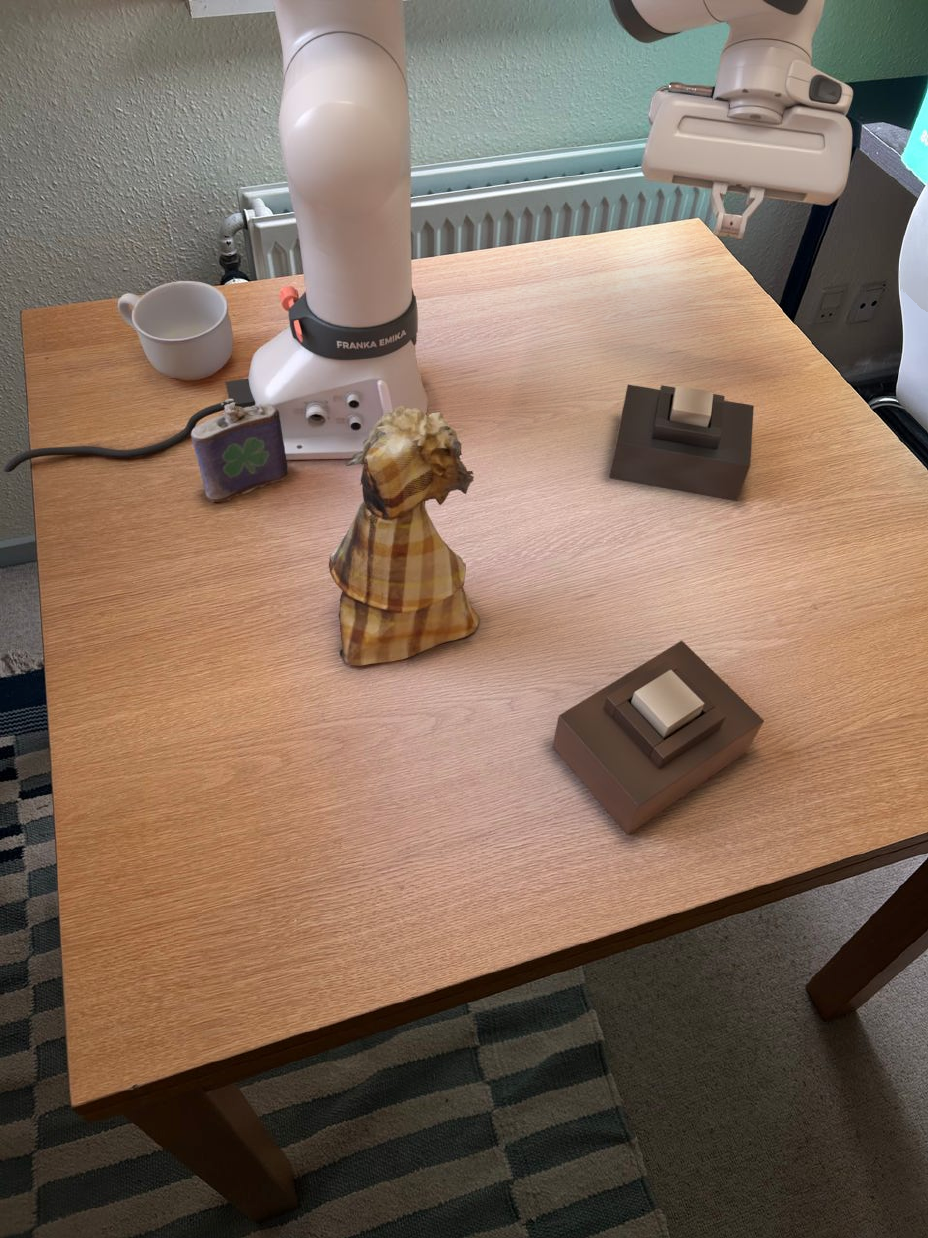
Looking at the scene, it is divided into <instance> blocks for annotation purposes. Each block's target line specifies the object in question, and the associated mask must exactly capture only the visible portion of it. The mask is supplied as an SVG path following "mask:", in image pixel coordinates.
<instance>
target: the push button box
mask: <svg viewBox="0 0 928 1238" xmlns="http://www.w3.org/2000/svg"><path fill="white" fill-rule="evenodd" d="M669 670H672V671H673V672H674V673H675V674H676V675H677V676H678V677H679V678H680V679H681V680H682V681H683V682H684V683H685V684H686V685H687V686H688V687H689V688H690V689H691V690H692V691H693V692H694V693H695V694H696V695H697V696H698V697H699V698H700V699H701V700H702V701H703V702H704V706H703V708H702V711H701V713H700V715H699V716H697V717H696V718H694V719H693V720H691V721H690V722H688V723H687V724H685V725H684V726H682V727H681V728H679V729H677V730H676V731H674V732H673V733H671V734H670V735H668V736H667V737H665V738H663V737H662V736H661V735H660V734H659V733H658V732H657V731H656V730H655V729H654V728H653V727H652V726H651V725H650V724H649V722H648V721H647V720H646V719H645V718H644V717H643V716H642V715H641V714H640V713H639V712H638V711H637V710H636V709H635V708H634V706H633V705H632V704H631V701H632V698H633V695H634V692H635V691H637V690H639V689H640V688H642V687H643V686H645V685H647V684H648V683H650V682H652V681H653V680H655V679H656V678H658V677H660V676H661V675H663V674H664V673H666V672H668V671H669ZM764 722H765V720H764V719H763V718H762V717H761V716H760V715H759V714H758V713H757V712H756V711H755V710H754V709H753V708H752V707H751V706H750V705H749V704H748V703H747V702H746V701H745V700H744V699H743V698H742V697H741V696H740V695H739V694H737V692H736V691H734V689H732V688H731V686H730V685H728V683H726V682H725V681H724V679H722V678H721V677H720V676H719V675H718V674H717V673H716V672H715V671H714V670H713V669H712V668H711V667H710V666H709V665H707V663H706V662H705V661H704V660H703V659H701V658H700V656H699V655H697V654H696V653H695V652H694V651H693V649H691V648H690V647H689V646H688V645H687V644H686V643H685V642H684V641H683V640H680V641H678V642H676V643H675V644H673V645H671V646H670V647H668V648H667V649H665V650H663V651H662V652H660V653H658V654H657V655H656V656H654V657H652V658H650V659H649V660H648V661H646V662H644V663H642V664H641V665H639V666H637V667H636V668H634V669H632V670H631V671H629V672H628V673H626V674H624V675H623V676H621V677H620V678H618V679H616V680H615V681H613V682H611V683H610V684H608V685H606V686H605V687H603V688H602V689H599V691H596V692H594V693H593V694H592V695H590V696H588V697H587V698H585V699H584V700H581V701H580V702H579V703H577V704H576V705H573V706H572V707H571V708H569V709H567V710H566V711H564V712H562V713H561V714H559V715H558V718H557V723H556V727H555V732H554V736H553V742H552V745H551V748H553V750H554V751H555V752H556V753H557V754H558V756H559V757H560V758H561V759H562V760H563V762H564V763H565V764H566V765H567V766H568V767H569V769H570V770H571V771H572V772H573V773H574V774H575V775H576V777H577V778H578V779H579V780H580V781H581V783H582V784H583V785H584V786H585V787H586V789H588V791H589V792H590V793H591V795H593V797H594V798H595V799H596V800H597V801H598V803H599V804H600V805H601V807H603V808H604V810H605V811H606V812H607V813H608V814H609V815H610V817H611V818H612V819H613V820H614V821H615V822H616V824H617V825H618V826H619V827H620V828H621V829H622V831H623V832H624V833H625V834H626V836H628V835H630V834H631V833H632V832H635V830H637V829H638V828H640V827H641V826H642V825H644V824H645V823H647V822H648V821H650V820H651V819H652V818H655V817H656V816H657V815H658V814H660V813H661V812H662V811H665V810H666V809H667V808H668V807H670V806H672V805H673V804H674V803H676V802H678V800H680V799H681V798H683V797H684V796H685V795H687V794H689V793H690V792H691V791H693V790H694V789H696V788H697V787H699V786H700V785H701V784H702V783H704V782H706V781H707V780H709V779H710V778H711V777H713V776H714V775H716V774H717V773H718V772H720V771H722V769H724V768H726V767H727V766H729V765H730V764H731V763H733V762H734V761H736V760H738V758H740V757H741V756H743V755H744V754H746V753H747V752H748V750H749V749H750V747H751V746H752V743H753V742H754V740H755V738H756V737H757V735H758V733H759V731H760V729H761V727H762V726H763V724H764Z"/></svg>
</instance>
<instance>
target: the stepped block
mask: <svg viewBox="0 0 928 1238" xmlns="http://www.w3.org/2000/svg"><path fill="white" fill-rule="evenodd" d="M675 388H676V386H675V387H674V386H670V385H669V386H668V385H663V384H662V385H660V389H659V388H653V387H652V388H651V387H646V386H640V385H634V384H627V386H626V391H625V396H624V401H623V404H622V410H621V415H620V420H619V425H618V428H617V429H618V430H617V435H616V439H615V440H616V441H615V445H614V450H613V455H612V461H611V466H610V471H609V475H608V477H609V479H613V480H618V481H623V482H627V483H628V482H629V483H634V484H640V485H645V486H651V487H656V488H661V489H668V490H673V491H679V492H685V493H689V494H695V495H701V496H706V497H712V498H718V499H722V500H729V501H734V502H738V500H739V498H740V494H741V491H742V489H743V486H744V484H745V481H746V479H747V476H748V473H749V470H750V468H751V461H752V444H753V443H752V442H753V427H754V411H755V409H754V407H755V405H754V404H753V405H752V404H747V403H742V402H735V401H729V400H725V398H726V397H725V395H722V394H716V393H713V402H712V412H711V418H710V421H709V424H708V427H703V426H697V425H691V424H685V423H680V422H674V421H669V420H670V414H671V407H672V400H673V395H674V391H675Z"/></svg>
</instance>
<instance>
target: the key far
mask: <svg viewBox="0 0 928 1238" xmlns="http://www.w3.org/2000/svg"><path fill="white" fill-rule="evenodd" d="M713 394H714V391H709V390H704V389H697V388H691V387H685V386H680V385H676V386H675V391H674V395H673V400H672V407H671V414H670V420H669V421H674V422H680V423H685V424H691V425H697V426H703V427H708V424H709V421H710V418H711V412H712V402H713Z"/></svg>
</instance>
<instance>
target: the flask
mask: <svg viewBox="0 0 928 1238" xmlns="http://www.w3.org/2000/svg"><path fill="white" fill-rule="evenodd" d="M224 401H225V402H226V403H228V402H231V401H234V400H233V399H229V398H227V399H225V400H224ZM220 403H221V405H223V404H224V403H222V402H220ZM190 436H191V441H192V445H193V447H194V452H195V455H196V456H195V457H196V459H197V464H198V467H199V471H200V475H201V479H202V483H203V487H204V490H205V496H206V497H207V499H208V500H209V501H210V502H211V503H217V502H220V503H223V502H226V501H230V500H232V498H233V497H238V496H240V495H245V494H248V493H251V492H253V491H254V490H255V489H256V488H258V487H261V488H263V487H264V486H265V485H267V484H274V483H277V482H279V481H280V482H281V481H283V480H285V479H286V478H287V476H288V475H289V474H290V473H289V472H288V460H286V454H285V447H284V442H283V434H282V429H281V422H280V415H279V411H278V410H277V409H276V408H275V406H273V405H271V404H268V403H266V404H260V405H259V404H258V405H254V406H251V407H246V408H242V407H239V406H235V403H231V404H227V405H225V410H224V412H223V413H222V414H221V415H219V416H215V417H213V418H211V419H208V420H207V421H205V422H202V423H200V424H198V425H196V426H195V428H194V429H193V430H192V432H191V434H190Z"/></svg>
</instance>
